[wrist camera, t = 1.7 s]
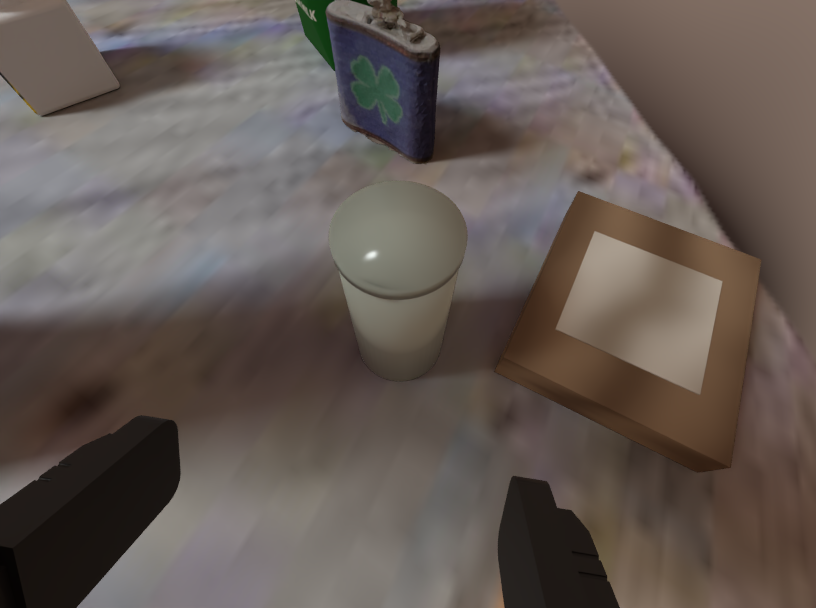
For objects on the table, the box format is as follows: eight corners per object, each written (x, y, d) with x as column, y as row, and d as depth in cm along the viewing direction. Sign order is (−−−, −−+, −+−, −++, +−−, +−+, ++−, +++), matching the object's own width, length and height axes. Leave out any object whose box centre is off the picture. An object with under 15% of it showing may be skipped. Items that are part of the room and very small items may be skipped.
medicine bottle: (20, 77, 37) (-132, -98, 27) (99, 51, 39) (-13, -121, 29) (39, 118, 35) (-121, -57, 24) (122, 88, 37) (9, -86, 26)
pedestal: (494, 371, 25) (503, 356, 22) (565, 214, 30) (578, 190, 28) (697, 472, 22) (732, 467, 20) (732, 280, 28) (762, 258, 26)
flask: (335, 122, 35) (312, -25, 25) (358, 105, 36) (343, -42, 27) (421, 170, 32) (430, 27, 23) (442, 150, 34) (458, 6, 24)
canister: (340, 357, 25) (300, 254, 15) (384, 290, 27) (373, 164, 17) (418, 398, 24) (428, 316, 14) (456, 325, 26) (489, 210, 16)
